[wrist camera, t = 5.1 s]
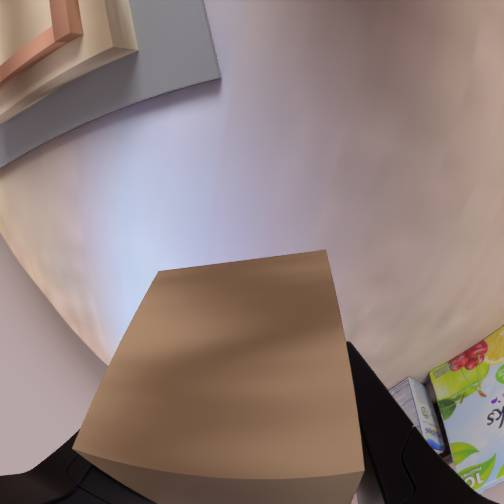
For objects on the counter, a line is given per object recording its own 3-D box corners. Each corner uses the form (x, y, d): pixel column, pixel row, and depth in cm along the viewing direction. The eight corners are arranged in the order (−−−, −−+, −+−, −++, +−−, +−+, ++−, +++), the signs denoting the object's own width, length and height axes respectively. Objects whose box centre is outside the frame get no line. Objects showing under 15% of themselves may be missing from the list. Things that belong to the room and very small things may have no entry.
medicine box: (375, 418, 31) (384, 479, 24) (352, 409, 30) (359, 477, 22) (428, 385, 27) (446, 451, 20) (408, 374, 26) (428, 447, 19)
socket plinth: (115, -87, 7) (84, -109, 4) (138, 50, 13) (100, 45, 10) (-9, -1, 9) (-45, -1, 6) (7, 121, 15) (-33, 136, 12)
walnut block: (325, 249, 8) (365, 470, 3) (332, 363, 11) (344, 516, 6) (158, 271, 9) (72, 448, 4) (205, 372, 12) (174, 512, 6)
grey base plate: (172, -125, 6) (169, -130, 5) (221, 78, 15) (218, 77, 14) (-27, 1, 9) (-33, 2, 9) (-2, 169, 18) (-8, 172, 17)
